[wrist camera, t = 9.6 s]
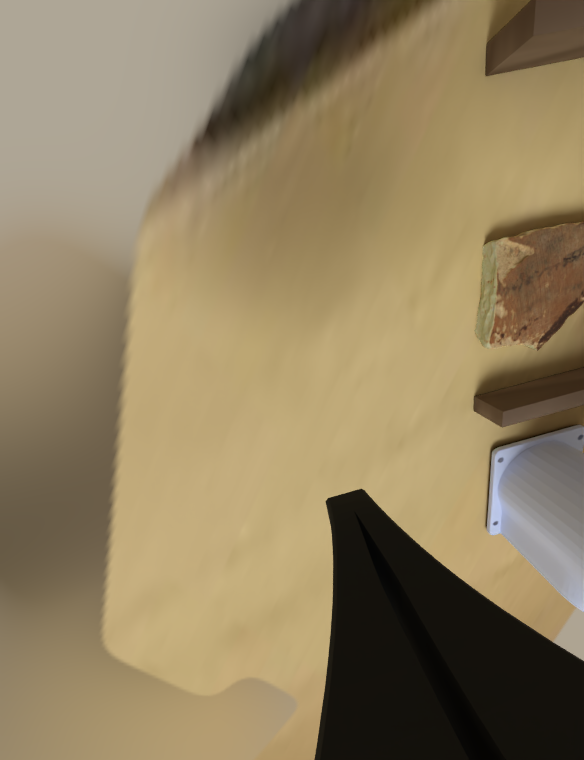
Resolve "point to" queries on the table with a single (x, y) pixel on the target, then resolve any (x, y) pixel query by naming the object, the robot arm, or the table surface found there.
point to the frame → (509, 53)
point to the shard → (530, 285)
